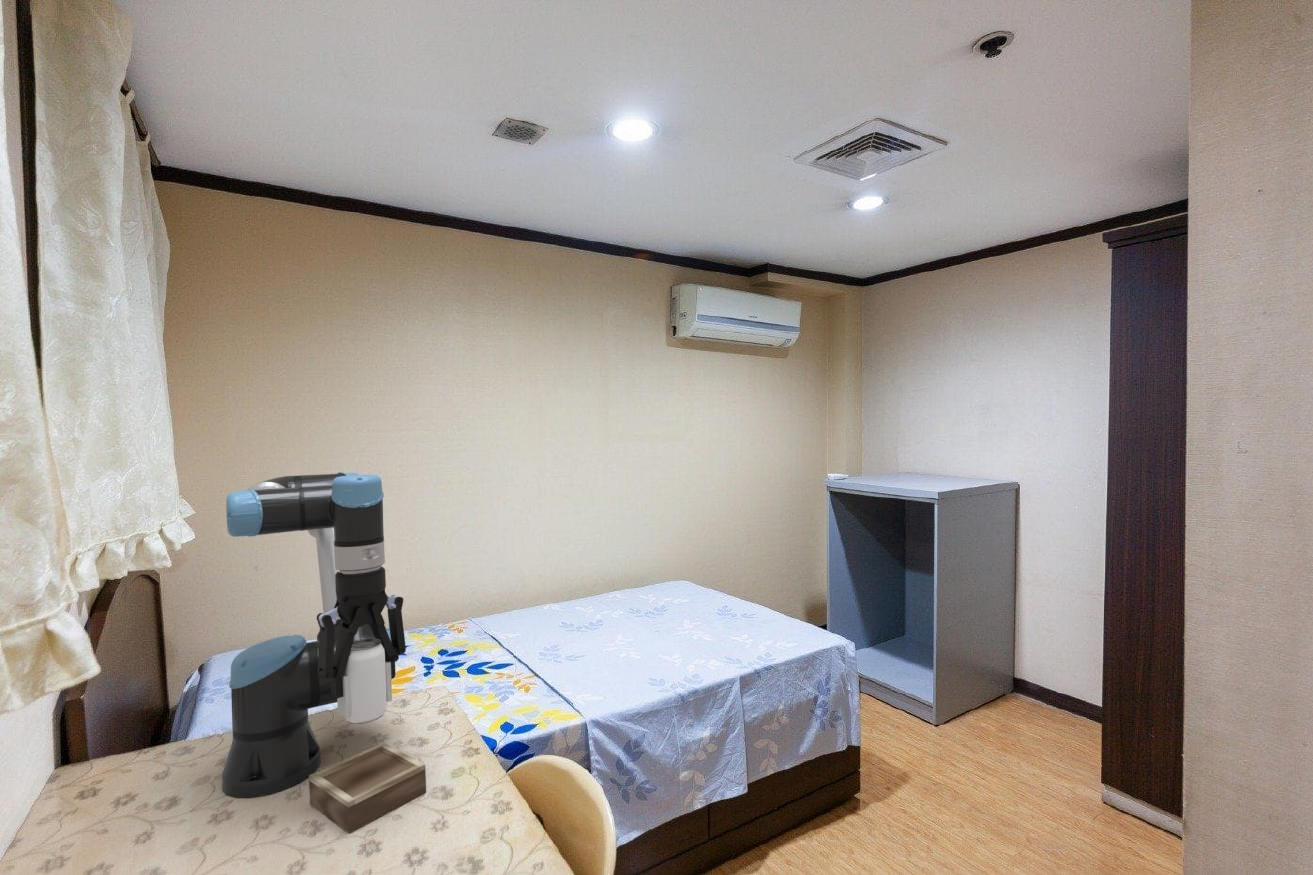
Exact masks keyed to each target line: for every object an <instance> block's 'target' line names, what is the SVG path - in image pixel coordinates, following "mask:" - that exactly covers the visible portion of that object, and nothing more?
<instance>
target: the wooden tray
mask: <svg viewBox="0 0 1313 875" xmlns="http://www.w3.org/2000/svg"><path fill="white" fill-rule="evenodd" d="M426 772H427V771H426V764H425V763H423V762H421V761H419V760H418V759H416V758H414V757H412V756H410V755H409V754H406V753H405V752H403V751H401V750H399V749H397V748H395V747H393V746H392V745H389V744H387V743H385V742H382V743H379V744H378V745H375V746H373V747H371V748H369V749H366V750H364V751H362V752H360V753H358V754H354V755H352V756H350V757H348V758H346V759H343V760H341V761H339V762H336V763H334V764H332V765H330V766H328V767H325V768H322V769H320V770H318V771H315V772H314V773H313V774H311V775H309V777H308V781H309V782H308V785H309V805H311V806H312V807H313V808H314V809H316V810H317V811H319V812H320V813H321V814H322V815H324V816H325V817H326V818H328V820H331V821H332V822H333V823H335V824H336V825H337V826H339V828H341V829H343V830H344V831H345V832H347V833H348V834H352V833H354V832H355V831H357V830H359V829H361V828H363V827H365V826H366V825H368V824H370V823H372V822H374V821H376V820H379V819H381V817H383V816H385V815H387V814H389V813H391V812H392V811H395V810H396V809H399V808H400V807H402V806H403V805H406V804H408V803H410V802H412V801H413V800H415V799H417V798H419V797H420V796H423V795H425V794H427V778H426V776H427V775H426Z"/></svg>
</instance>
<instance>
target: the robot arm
mask: <svg viewBox="0 0 1313 875" xmlns="http://www.w3.org/2000/svg"><path fill="white" fill-rule="evenodd" d="M384 497H385V496H384V492H383V484H382V478H381V476H379V475H378V474H359V473H357V472H356V473H355V472H342V471H340V472H337V473H328V474H327V473H325V474H323V473H322V474H305V475H304V474H302V475H301V474H299V475H285V476H278V477H275V478H271V479H267V480H263V481H261V482H259V483H256V484H253V485H251V486H250V487H247V489H245V490H241V491H232V492H230V493H229V494H228V495H227V496H226V500H225V501H226V504H225V505H226V506H225V507H226V529H227V533H228V534H229V535H230V536H231V537H234V538H235V537H238V538H240V537H256V536H262V535H263V536H265V535H273V534H280V533H281V534H282V533H290V532H302V531H307V533H308V534H309V535H310V536H311V537H313V538H314V539H315V541H316V542H315V543H316V551H317V552H316V553H317V563H318V572H319V582H320V590H321V591H320V593H321V602H322V611H323V612H319V613H318V614H317V615H316V621H317V624H318V627H319V630H318V632H317V635H316V640H314V641H310V642H307V639H306V638H305V636H303V635H299V634H293V635H283V636H278V637H274V638H270V639H267V640H264V641H261V642H259V643H256V644H254V645H251V646H249V647H248V648H245V649H243V650H242V651H241V652H239V653H238V654H236V656H235V657H234V658H233V659H232V662H231V664H230V681H229V684H228V685H229V686H228V688H229V689H230V690H231V691H230V693H231V696H230V697H231V727H232V728H231V729H232V741H231V744H230V748H229V751H228V754H227V756H226V757H227V758H226V760H225V763H224V767H223V770H222V774H221V781H222V782H221V783H222V785H221V786H222V787H221V788H222V791H223V792H224V793H225V794H226V795H228V796H231V797H236V798H251V797H259V796H266V795H269V794H273V793H274V794H275V793H277V792H281V791H284V790H285V789H288V788H290V787H294V786H296V785H298V784H299V783H301V782H303V781H305V780H306V779H307V778H308V779H309V775H311V774H314V773H316V772H317V770H318V769H319V768H320V766H321V762H322V758H321V757H322V756H321V748H320V745H319V743H318V741H317V738H316V736H315V734H314V732H313V729H312V727H311V724H310V722H309V709H313V708H317V707H321V706H326V705H332V704H336V703H337V715H338V716H341V717H343V718H348V717H351V710H350V683H349V676H347V675H344V673H345V670H346V666H347V662H348V659H349V655H350V651H351V648H352V644H353V641H356V640H360V639H367V638H376V639H380V640H381V641H382V642H381V644H382V646H383V648H384V651H385V671H386V699H387V703H389V702H392V701H393V691H392V690H393V689H392V687H393V685H392V680H393V679H395V678H396V674H397V673H396V662H398V661H399V658H400V655H403V654H405V652H406V650H407V647H406V639H405V638H406V637H405V629H404V621H403V614H402V613H403V612H402V609H403V604H404V598H403V597H402V596H398V595H395V594H393V595H390V596H389V595H388V594H387V592H386V586H387V583H386V582H387V580H386V568H385V567H383V565H384V564H385V560H386V558H385V536H384V535H385V534H384V501H383V500H384ZM385 606H386V608H387V619H388V626H389V627H386V626H385V624H386V621H385V619H384V618H383V614H382V612H383V610H384V609H385Z"/></svg>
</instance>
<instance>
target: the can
mask: <svg viewBox="0 0 1313 875" xmlns="http://www.w3.org/2000/svg"><path fill="white" fill-rule="evenodd" d="M381 642H382V641H381V640H380V639H376V638H367V639H360V640H356V641H353V644H352V648H351V651H350V655H349V659H348V662H347V666H346V670H345V673H344V675H347V676H349V683H350V710H351V717H348V718H344V717H343V718H344V720H345V721H346V722H347V723H348V724H353V725H362V724H367V723H371V722H374V721H377V720H378V719H381V717H383V716H384V715H385V713H386V712H387V708H388V707H387V705H388V702H387V699H386V671H385V651H384V648H383V646H382V644H381Z"/></svg>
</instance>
